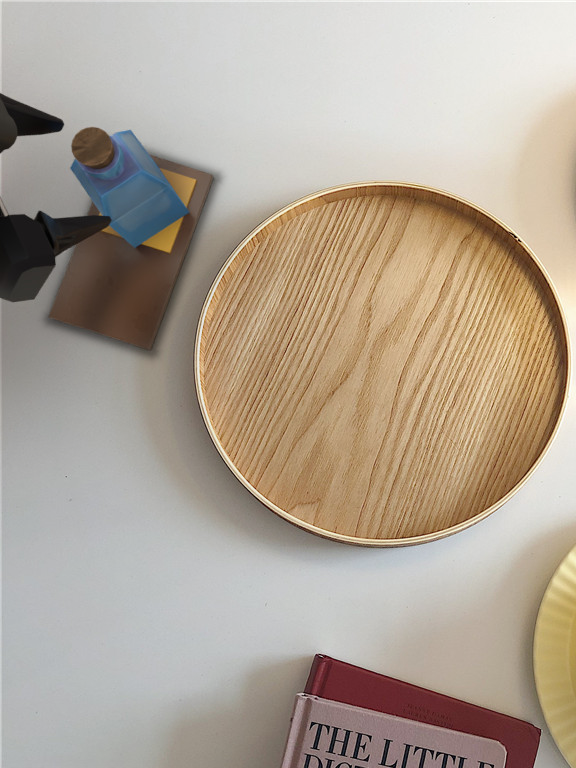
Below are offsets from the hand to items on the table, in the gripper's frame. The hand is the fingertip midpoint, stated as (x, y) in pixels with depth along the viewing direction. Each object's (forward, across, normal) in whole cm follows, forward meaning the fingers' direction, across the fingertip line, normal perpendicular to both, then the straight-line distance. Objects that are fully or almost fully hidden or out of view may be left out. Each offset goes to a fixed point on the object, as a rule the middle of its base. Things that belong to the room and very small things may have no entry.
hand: (85, 173), depth 57 cm
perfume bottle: (+8, 0, +5) cm, 9 cm away
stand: (+6, -3, +8) cm, 10 cm away
